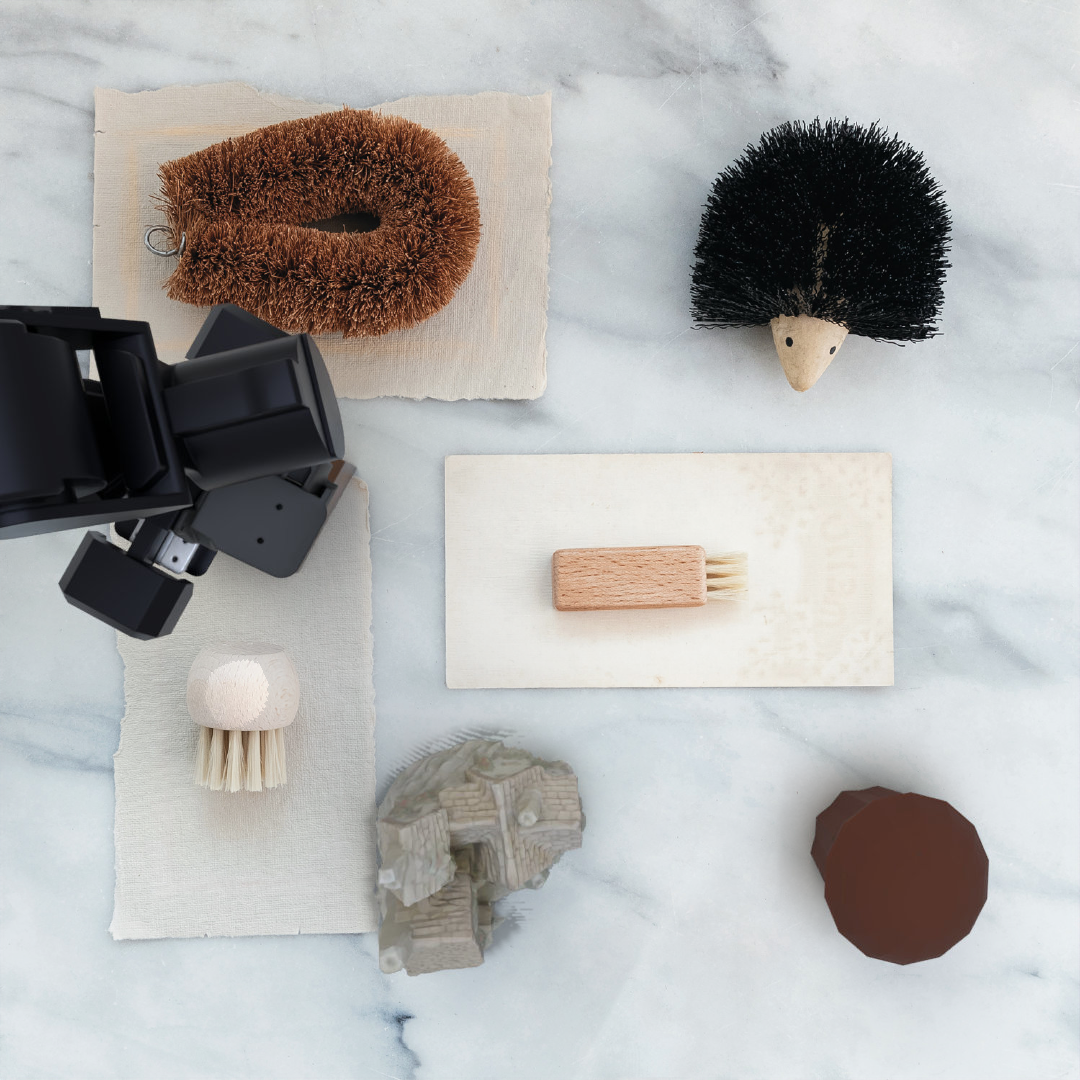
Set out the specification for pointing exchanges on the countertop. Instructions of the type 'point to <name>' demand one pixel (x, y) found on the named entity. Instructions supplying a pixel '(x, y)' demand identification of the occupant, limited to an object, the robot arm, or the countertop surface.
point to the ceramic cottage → (466, 849)
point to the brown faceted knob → (900, 873)
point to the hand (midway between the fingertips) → (241, 483)
